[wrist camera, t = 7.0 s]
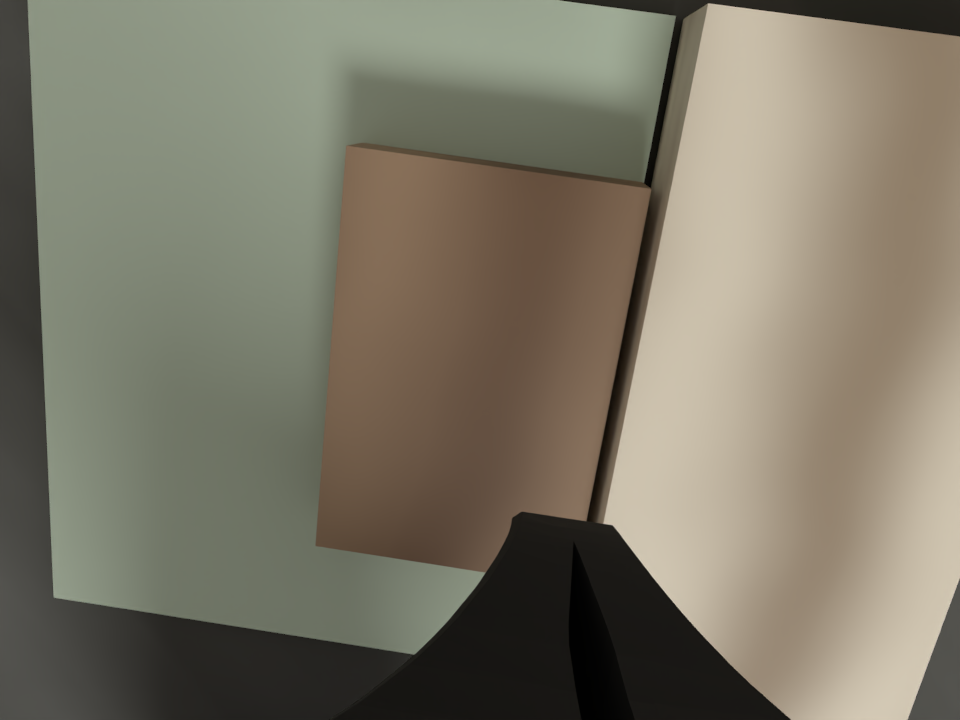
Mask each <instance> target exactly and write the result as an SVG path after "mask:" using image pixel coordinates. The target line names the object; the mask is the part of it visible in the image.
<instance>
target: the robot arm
mask: <svg viewBox="0 0 960 720" xmlns="http://www.w3.org/2000/svg"><path fill="white" fill-rule="evenodd" d="M329 720H791V719H790V718H789V717H787V716H786V715H785V714H784V713H783V712H782V711H781V710H780V709H778V708H777V707H776V706H775V705H774V704H773V703H772V702H770V701H769V700H768V699H767V698H766V697H765V696H764V695H763V694H761V693H760V692H759V691H758V690H757V689H756V688H755V687H753V686H752V685H751V684H750V683H749V682H748V681H747V680H746V679H745V678H744V677H743V676H742V675H741V674H740V673H739V672H738V671H737V670H735V669H734V668H733V667H732V666H731V665H730V664H729V663H728V662H727V660H726V659H725V658H724V657H723V656H722V655H721V654H720V653H719V652H718V651H717V650H716V649H715V648H714V647H713V646H712V645H711V644H710V643H709V642H708V641H707V640H706V639H705V637H704V636H703V635H702V634H701V633H700V632H699V631H698V630H697V629H696V628H695V627H694V626H693V624H692V623H691V622H690V621H689V620H688V619H687V618H686V617H685V615H684V614H683V613H682V612H681V611H680V610H679V608H678V607H677V606H676V605H675V604H674V603H673V601H672V600H671V599H670V598H669V597H668V595H667V594H666V593H665V592H664V591H663V589H662V588H661V587H660V586H659V584H658V583H657V582H656V581H655V579H654V578H653V577H652V576H651V574H650V573H649V572H648V570H647V569H646V568H645V567H644V565H643V564H642V563H641V561H640V560H639V559H638V558H637V556H636V555H635V554H634V552H633V551H632V550H631V548H630V547H629V546H628V544H627V543H626V542H625V540H624V539H623V538H622V536H621V535H620V534H619V532H618V531H617V530H616V529H615V527H614V526H613V525H608V524H601V523H595V522H588V521H581V520H575V519H568V518H562V517H555V516H548V515H542V514H535V513H529V512H520V513H519V514H517V515H516V516H514V517H513V518H512V522H511V527H510V530H509V533H508V535H507V538H506V540H505V542H504V544H503V545H502V547H501V549H500V551H499V553H498V555H497V556H496V558H495V559H494V561H493V562H492V564H491V565H490V567H489V568H488V570H487V571H486V573H485V574H484V576H483V577H482V579H481V580H480V582H479V583H478V585H477V586H476V587H475V589H474V590H473V591H472V592H471V594H470V595H469V596H468V597H467V599H466V600H465V601H464V602H463V603H462V605H461V606H460V607H459V608H458V609H457V611H456V612H455V613H454V614H453V615H452V617H451V618H450V619H449V620H448V621H447V622H446V624H445V625H444V626H443V627H442V628H441V629H440V630H439V631H438V632H437V633H436V634H435V635H434V636H433V637H432V638H431V639H430V640H429V641H428V642H427V643H426V644H425V645H424V646H423V647H422V648H421V649H420V650H419V651H418V652H417V653H416V654H415V655H413V656H412V657H411V658H410V659H409V660H408V661H407V662H406V663H405V664H403V665H402V666H401V667H400V668H399V669H397V670H396V671H395V672H394V673H393V674H391V675H390V676H389V677H388V678H386V679H385V680H384V681H383V682H382V683H380V684H379V685H378V686H377V687H375V688H374V689H373V690H372V691H370V692H369V693H368V694H366V695H365V696H364V697H362V698H361V699H360V700H358V701H357V702H355V703H354V704H353V705H351V706H350V707H348V708H347V709H345V710H344V711H342V712H340V713H339V714H337V715H336V716H334V717H333V718H331V719H329Z"/></svg>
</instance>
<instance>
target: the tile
mask: <svg viewBox="0 0 960 720" xmlns="http://www.w3.org/2000/svg"><path fill="white" fill-rule="evenodd" d="M650 194H651V188H650V187H648V186H647V185H645V184H644V183H643V182H638V181H631V180H624V179H617V178H610V177H603V176H596V175H589V174H582V173H575V172H567V171H560V170H553V169H546V168H539V167H532V166H525V165H518V164H511V163H504V162H497V161H490V160H483V159H476V158H468V157H461V156H454V155H447V154H440V153H433V152H426V151H419V150H412V149H405V148H398V147H391V146H384V145H377V144H369V143H357V144H352V145H347V146H346V153H345V166H344V179H343V192H342V205H341V218H340V231H339V244H338V257H337V270H336V283H335V296H334V309H333V323H332V336H331V349H330V362H329V375H328V388H327V401H326V414H325V427H324V440H323V453H322V466H321V479H320V492H319V505H318V518H317V531H316V544H315V546H318V547H325V548H331V549H338V550H344V551H350V552H357V553H363V554H370V555H376V556H382V557H389V558H395V559H402V560H408V561H414V562H421V563H427V564H434V565H440V566H446V567H453V568H459V569H465V570H472V571H478V572H485V573H486V571H487V570H488V568H489V567H490V565H491V564H492V562H493V561H494V559H495V558H496V556H497V555H498V553H499V551H500V549H501V547H502V545H503V544H504V542H505V540H506V538H507V535H508V533H509V530H510V527H511V522H512V518H513V517H514V516H516V515H517V514H519V513H520V512H529V513H535V514H542V515H548V516H555V517H562V518H568V519H575V520H581V521H586V520H587V515H588V510H589V505H590V500H591V495H592V490H593V485H594V479H595V474H596V469H597V464H598V459H599V454H600V449H601V444H602V439H603V434H604V429H605V423H606V418H607V413H608V408H609V403H610V398H611V393H612V388H613V383H614V378H615V373H616V367H617V362H618V357H619V352H620V347H621V342H622V337H623V332H624V327H625V322H626V317H627V311H628V306H629V301H630V296H631V291H632V286H633V281H634V276H635V271H636V266H637V261H638V255H639V250H640V245H641V240H642V235H643V230H644V225H645V220H646V215H647V210H648V205H649V199H650Z"/></svg>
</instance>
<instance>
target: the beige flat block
mask: <svg viewBox="0 0 960 720" xmlns="http://www.w3.org/2000/svg"><path fill="white" fill-rule="evenodd" d="M586 521H588V522H595V523H601V524H608V525H613V526H614V527H615V529H616V530H617V531H618V532H619V534H620V535H621V536H622V538H623V539H624V540H625V542H626V543H627V544H628V546H629V547H630V548H631V550H632V551H633V552H634V554H635V555H636V556H637V558H638V559H639V560H640V561H641V563H642V564H643V565H644V567H645V568H646V569H647V570H648V572H649V573H650V574H651V576H652V577H653V578H654V579H655V581H656V582H657V583H658V584H659V586H660V587H661V588H662V589H663V591H664V592H665V593H666V594H667V595H668V597H669V598H670V599H671V600H672V601H673V603H674V604H675V605H676V606H677V607H678V608H679V610H680V611H681V612H682V613H683V614H684V615H685V617H686V618H687V619H688V620H689V621H690V622H691V623H692V624H693V626H694V627H695V628H696V629H697V630H698V631H699V632H700V633H701V634H702V635H703V636H704V637H705V639H706V640H707V641H708V642H709V643H710V644H711V645H712V646H713V647H714V648H715V649H716V650H717V651H718V652H719V653H720V654H721V655H722V656H723V657H724V658H725V659H726V660H727V662H728V663H729V664H730V665H731V666H732V667H733V668H734V669H735V670H737V671H738V672H739V673H740V674H741V675H742V676H743V677H744V678H745V679H746V680H747V681H748V682H749V683H750V684H751V685H752V686H753V687H755V688H756V689H757V690H758V691H759V692H760V693H761V694H763V695H764V696H765V697H766V698H767V699H768V700H769V701H770V702H772V703H773V704H774V705H775V706H776V707H777V708H778V709H780V710H781V711H782V712H783V713H784V714H785V715H786V716H787V717H789V718H790V719H791V720H907V719H908V717H909V714H910V711H911V708H912V706H913V703H914V700H915V698H916V695H917V692H918V690H919V687H920V684H921V681H922V679H923V676H924V673H925V671H926V668H927V665H928V662H929V660H930V657H931V654H932V652H933V649H934V646H935V643H936V641H937V638H938V635H939V633H940V630H941V627H942V625H943V622H944V619H945V616H946V614H947V611H948V608H949V606H950V603H951V600H952V597H953V595H954V592H955V589H956V587H957V584H958V581H959V578H960V37H959V36H951V35H944V34H936V33H928V32H921V31H913V30H906V29H898V28H891V27H883V26H876V25H868V24H860V23H853V22H845V21H838V20H830V19H823V18H815V17H808V16H800V15H792V14H785V13H777V12H770V11H762V10H755V9H747V8H740V7H732V6H725V5H717V4H709V3H708V4H706V5H705V6H703V7H702V8H700V9H698V10H697V11H695V12H694V13H692V14H690V15H689V16H687V17H686V18H684V19H683V23H682V29H681V34H680V39H679V44H678V49H677V54H676V60H675V65H674V70H673V75H672V80H671V85H670V90H669V96H668V101H667V106H666V111H665V116H664V121H663V127H662V132H661V137H660V142H659V147H658V152H657V157H656V163H655V168H654V173H653V178H652V183H651V194H650V199H649V205H648V210H647V215H646V220H645V225H644V230H643V235H642V240H641V245H640V250H639V255H638V261H637V266H636V271H635V276H634V281H633V286H632V291H631V296H630V301H629V306H628V311H627V317H626V322H625V327H624V332H623V337H622V342H621V347H620V352H619V357H618V362H617V367H616V373H615V378H614V383H613V388H612V393H611V398H610V403H609V408H608V413H607V418H606V423H605V429H604V434H603V439H602V444H601V449H600V454H599V459H598V464H597V469H596V474H595V479H594V485H593V490H592V495H591V500H590V505H589V510H588V515H587V520H586Z"/></svg>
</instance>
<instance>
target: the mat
mask: <svg viewBox="0 0 960 720" xmlns="http://www.w3.org/2000/svg"><path fill="white" fill-rule="evenodd" d="M675 18H676V16H672V15H665V14H657V13H650V12H642V11H635V10H627V9H620V8H612V7H605V6H597V5H590V4H582V3H575V2H567V1H560V0H28V22H29V45H30V67H31V90H32V113H33V136H34V159H35V182H36V204H37V227H38V250H39V273H40V296H41V318H42V341H43V364H44V387H45V410H46V432H47V455H48V478H49V501H50V524H51V547H52V569H53V592H54V598H60V599H66V600H72V601H79V602H85V603H91V604H98V605H104V606H110V607H117V608H123V609H129V610H136V611H142V612H148V613H155V614H161V615H167V616H174V617H180V618H186V619H193V620H199V621H205V622H212V623H218V624H224V625H231V626H237V627H243V628H250V629H256V630H262V631H268V632H275V633H281V634H287V635H294V636H300V637H306V638H313V639H319V640H325V641H332V642H338V643H344V644H351V645H357V646H363V647H370V648H376V649H382V650H389V651H395V652H401V653H408V654H414V655H415V654H416V653H417V652H418V651H419V650H420V649H421V648H422V647H423V646H424V645H425V644H426V643H427V642H428V641H429V640H430V639H431V638H432V637H433V636H434V635H435V634H436V633H437V632H438V631H439V630H440V629H441V628H442V627H443V626H444V625H445V624H446V622H447V621H448V620H449V619H450V618H451V617H452V615H453V614H454V613H455V612H456V611H457V609H458V608H459V607H460V606H461V605H462V603H463V602H464V601H465V600H466V599H467V597H468V596H469V595H470V594H471V592H472V591H473V590H474V589H475V587H476V586H477V585H478V583H479V582H480V580H481V579H482V577H483V576H484V574H485V572H478V571H472V570H465V569H459V568H453V567H446V566H440V565H434V564H427V563H421V562H414V561H408V560H402V559H395V558H389V557H382V556H376V555H370V554H363V553H357V552H350V551H344V550H338V549H331V548H325V547H318V546H315V544H316V531H317V518H318V505H319V492H320V479H321V466H322V453H323V440H324V427H325V414H326V401H327V388H328V375H329V362H330V349H331V336H332V323H333V309H334V296H335V283H336V270H337V257H338V244H339V231H340V218H341V205H342V192H343V179H344V166H345V153H346V146H347V145H352V144H357V143H369V144H377V145H384V146H391V147H398V148H405V149H412V150H419V151H426V152H433V153H440V154H447V155H454V156H461V157H468V158H476V159H483V160H490V161H497V162H504V163H511V164H518V165H525V166H532V167H539V168H546V169H553V170H560V171H567V172H575V173H582V174H589V175H596V176H603V177H610V178H617V179H624V180H631V181H638V182H643V183H644V180H645V175H646V170H647V165H648V160H649V154H650V149H651V144H652V139H653V133H654V128H655V123H656V118H657V112H658V107H659V102H660V97H661V91H662V86H663V81H664V76H665V71H666V65H667V60H668V55H669V50H670V44H671V39H672V34H673V29H674V23H675Z"/></svg>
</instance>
